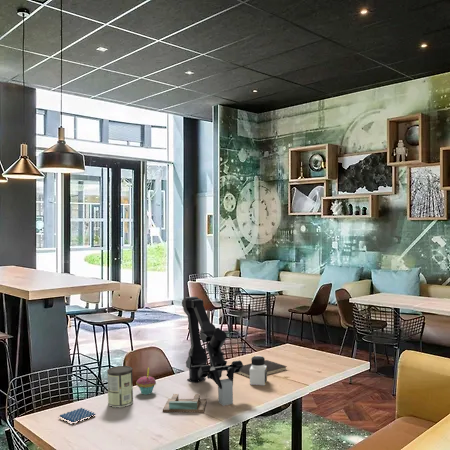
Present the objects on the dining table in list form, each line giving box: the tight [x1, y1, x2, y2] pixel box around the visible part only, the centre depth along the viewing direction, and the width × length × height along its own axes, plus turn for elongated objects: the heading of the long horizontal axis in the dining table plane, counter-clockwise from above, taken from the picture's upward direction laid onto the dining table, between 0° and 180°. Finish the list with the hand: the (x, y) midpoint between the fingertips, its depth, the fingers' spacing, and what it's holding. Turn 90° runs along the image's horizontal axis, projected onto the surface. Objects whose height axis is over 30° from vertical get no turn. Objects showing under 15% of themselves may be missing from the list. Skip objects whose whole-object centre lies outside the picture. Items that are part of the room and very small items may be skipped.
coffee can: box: [106, 365, 134, 408], centre depth 200 cm, size 10×10×14 cm
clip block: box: [217, 378, 234, 406], centre depth 198 cm, size 4×4×9 cm
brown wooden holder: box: [162, 393, 208, 413], centre depth 194 cm, size 12×16×4 cm
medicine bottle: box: [249, 355, 268, 386], centre depth 223 cm, size 7×7×12 cm
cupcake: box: [135, 366, 157, 395], centre depth 212 cm, size 9×8×12 cm
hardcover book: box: [237, 359, 288, 379], centre depth 242 cm, size 16×23×2 cm
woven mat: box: [59, 407, 96, 422], centre depth 185 cm, size 10×11×2 cm
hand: (226, 387), depth 197 cm, fingers closed on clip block, 4 cm apart
